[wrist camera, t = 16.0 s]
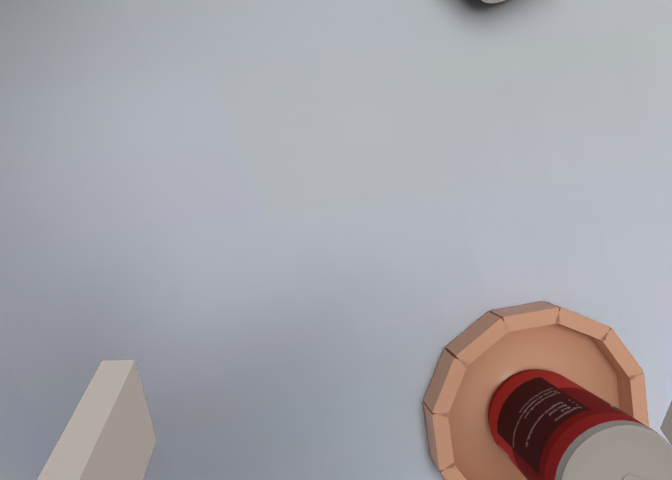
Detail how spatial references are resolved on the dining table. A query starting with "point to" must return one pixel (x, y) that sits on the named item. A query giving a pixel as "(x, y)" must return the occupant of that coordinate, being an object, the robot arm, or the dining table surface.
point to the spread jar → (492, 1)
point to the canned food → (572, 432)
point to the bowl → (508, 359)
